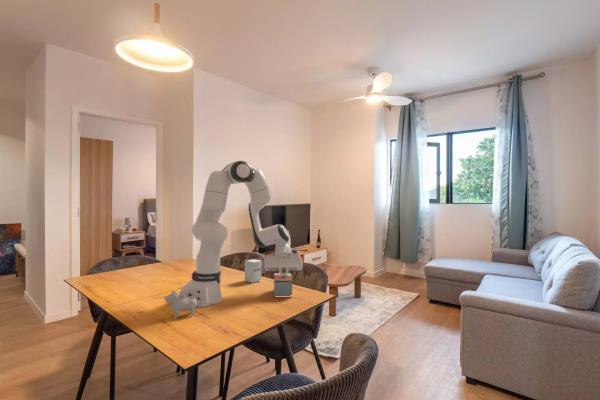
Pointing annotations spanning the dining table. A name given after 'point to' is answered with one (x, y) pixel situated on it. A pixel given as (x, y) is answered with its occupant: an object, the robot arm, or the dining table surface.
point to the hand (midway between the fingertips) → (283, 276)
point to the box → (282, 288)
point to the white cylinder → (253, 270)
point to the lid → (278, 277)
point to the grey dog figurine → (181, 303)
